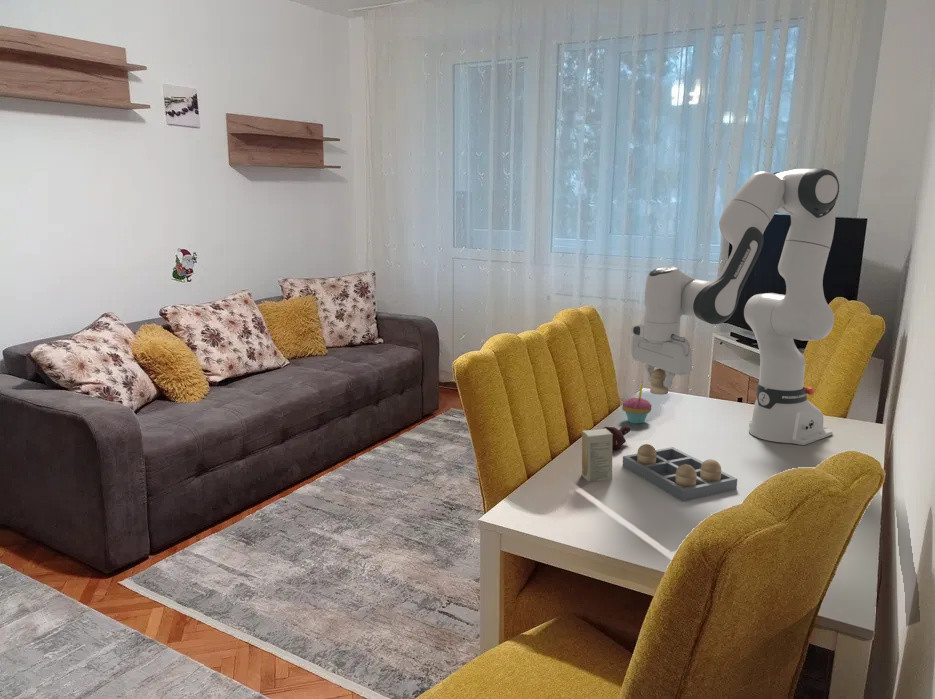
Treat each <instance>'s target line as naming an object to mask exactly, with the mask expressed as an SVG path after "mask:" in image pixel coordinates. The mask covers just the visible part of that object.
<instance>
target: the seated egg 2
mask: <svg viewBox="0 0 935 699" xmlns="http://www.w3.org/2000/svg"><path fill="white" fill-rule="evenodd" d="M696 477H697V474H696V470H695V469H694V468H693V467H692V466H691V465H688V464H684V465H681V466H679V467H678V468H677V470H676V479H675V483H676V484H678V485H679V486H681V487H683V488H687V487H691V486H696Z"/></svg>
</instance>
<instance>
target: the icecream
mask: <svg viewBox="0 0 935 699" xmlns="http://www.w3.org/2000/svg"><path fill="white" fill-rule="evenodd" d="M604 428H606V429H607V430H609V431H610V432H611V433H612V434H613V437H612V451H613V452H615V451H618V450H620V449H621V447H622V446H623V445H624V444H625V443H626V439H625V436H626V435H628V434H629V433H630V431H631V427H630V426H629V425H624V426H621V427H620V428H619V429H618V428H617V427H615V426H604V427H602V428H601V429H604Z"/></svg>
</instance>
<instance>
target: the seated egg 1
mask: <svg viewBox="0 0 935 699" xmlns="http://www.w3.org/2000/svg"><path fill="white" fill-rule="evenodd" d="M656 450H657V449H656V448H655V447H654V446H653V445H651V444H648V443H646V444H642V445H640V446H639V447H638V449H637V452H636V454H637V462H639V463H640V464H642V465H649V464H655V463H656Z"/></svg>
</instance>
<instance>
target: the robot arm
mask: <svg viewBox="0 0 935 699" xmlns="http://www.w3.org/2000/svg"><path fill="white" fill-rule="evenodd" d="M839 193H840V184H839V179H838V176H837V175H836V173H835V172H833V171H832V170H830V169H826V168H821V167H813V168H794V169H789V170H786V171H776V172H773V173H772V172H769V171H758V172H756V173H753V174H752V175H751V176H750V177H749V178H748V179H747V180H746V181H745V182H744V183H743V184H742V185H741V187H739V188H738V190H737V192H735V194H734V195H733V196H732V198H731V200H730V201H729V202H728V204H727V205H726V207H724V210H723V212H722V213H721V216H720V218H719V222H718V226H719V230H720V233H721V235H722V237H723V238H724V239H725V240H726V241H727V242H728V243H730V244H731V246H732V249H731V253H730V255H729V257H728V259H726V260H727V261H726V263H725V265H724V266H723V269H722V270H721V273H720V274H719V275H718V277H717V278H714V280H710V281H708V280H705V279H704V280H703V279H699V278H695V277H693V276H690V275H688V274H686V273H685V272H683V271H682V270H680V268H679V267H677V266H669V265H668V266H660V267H657V268H654V269H653V270H651V271H649V273H648V275H647V278H646V282H645V290H644V306H645V315H644V317H643V318H644V319H643V323H641V324H638V325H637V324H636V325H633V326H631V334H632V337H631V343H630V354H631V358H632V359H633V361H635V362H639V363H641V364H645V371H646V373H647V381H649V382H650V383H651V374H652V372H653V371H654V370H655V368H656V369H662V370H665V374H666V375H667V376H666V378H665V380H662V383H663V384H662V386H664V387H666V388H668V389H669V388H671V387H673V386H672V383H673V380H674V378H675V376H677V375H678V376H685V375H690V374H691V372H692V371H693V354H692V348H691V344H690V342H689V341H688V340H687V338H686V337H684V336H681V317H682V316H688V317H690V318H694V319H697V320H700V321H703V322H705V323H707V324H710V325H720V324H722V323H725V322H726V321H728V320H729V319H730V318H731V317H732V316H733V314H735V311H736V309H737V306H738V303H739V299H740V296H741V292H742V291H743V289H744V286H745V284H746V283H747V280H748V278H749V275H750V274H751V272H752V270H753V268H754V266H755V264H756V262H757V261H758V258H759V256H760V254H761V251H762V249H763V245H764V241H765V240H764V232H765V231H766V228H767V227H768V226H769V223H771V221H772V219H773V218H774V215H775V214H776V213H784V214H789V216H790V226H789V229H788V231H787V234H786V237H785V240H784V244H783V247H782V251H781V255H780V258H779V262H778V265H777V271H778V273H779V275H780V276H781V277H782V278H783V279H784V281H785V286H786V287H785V290H786V291H785V294H782V293H781V294H779V293H775V292H768V293H767V292H765V293H758V294H754V295H753V296H751V297H750V298H749V299H748V300H747V302H746V304H745V306H744V308H743V317H744V320H745V323H747V325H748V326H749V327H750V328H751V330H752V332H753V334H754V336H755V338H756V341H757V346H758V350H759V359H760V363H759V364H760V365H759V379H758V381H759V382H758V383H757V384H756V394H755V395H756V398H755V399H756V400H755V402H754V408H753V413H752V418H751V420H750V421H749V423H748V424H749V428H748V433H749V434H751V435H752V436H754V437H756V438H758V439H762V440H764V441H769V442H775V443H783V444H784V443H785V444H795V445H800V446H804V445H808V444H811V443H813V442H816V441H819V440H821V439H824V438H827V437H829V436H832V435H833V430H832V429H831V428H829V427H828V426H826V425H824V414H823V412H822V411H821V410H820V409H819V408H818V407H816V406H815V405H814V404H813V403H812V402H810V400H808V396H807V394H808V395H810V396H813V395H814V394H815V392H816V391H815V388H814V387H810V386H806V387H805V386H804V381H805V374H806V373H805V372H806V359H805V356H804V355H803V354H802V353H801V351H800V350H799V349H798V348H797V345H796V343H795V340H798V341H820V340H823V339H825V338H827V336H828V335H829V334H830V333H831V332H832V330H833V328H834V324H835V315H834V311H833V309H832V308H831V307H830V306H829V304H828V302H827V299H826V297H825V294H824V292H825V291H824V286H823V284H824V283H823V282H824V281H823V280H824V274H825V270H826V265H827V261H828V258H829V255H830V254H829V253H830V252H831V247H832V243H833V240H834V233H835V226H836V212H835V211H834V209H833V208H834V207H835V206H836V203H837V200H838V197H839Z"/></svg>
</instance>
